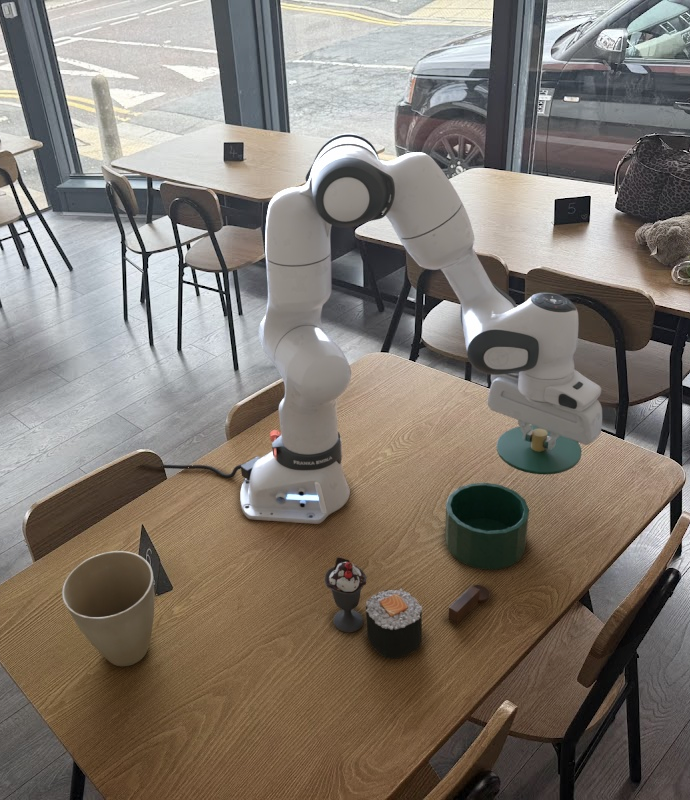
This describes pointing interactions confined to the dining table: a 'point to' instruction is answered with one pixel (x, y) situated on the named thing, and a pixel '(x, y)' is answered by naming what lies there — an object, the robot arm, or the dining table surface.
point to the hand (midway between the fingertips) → (538, 443)
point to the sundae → (346, 593)
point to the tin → (486, 525)
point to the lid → (537, 452)
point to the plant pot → (113, 604)
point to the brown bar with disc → (468, 602)
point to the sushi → (394, 623)
